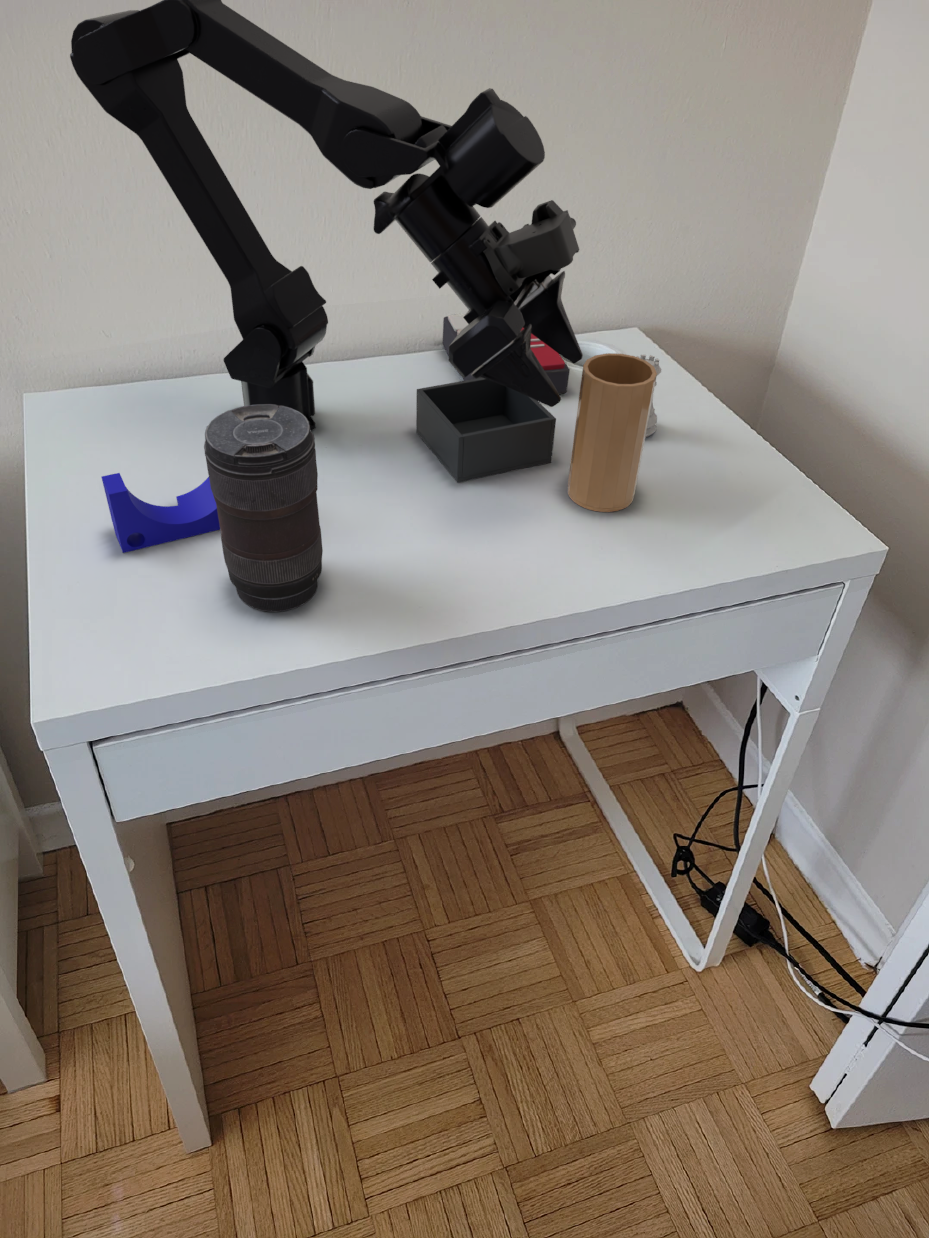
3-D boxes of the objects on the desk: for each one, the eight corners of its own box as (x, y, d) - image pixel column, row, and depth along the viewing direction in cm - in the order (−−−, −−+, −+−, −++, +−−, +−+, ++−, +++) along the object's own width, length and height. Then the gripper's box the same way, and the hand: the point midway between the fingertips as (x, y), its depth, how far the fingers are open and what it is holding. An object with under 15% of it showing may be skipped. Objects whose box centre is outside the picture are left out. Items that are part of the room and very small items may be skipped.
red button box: (476, 372, 103) (442, 310, 113) (474, 407, 106) (441, 343, 116) (572, 364, 105) (530, 303, 116) (567, 398, 108) (526, 336, 119)
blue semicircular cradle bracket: (242, 495, 89) (234, 439, 86) (257, 520, 86) (250, 463, 83) (111, 525, 85) (97, 467, 81) (123, 553, 82) (108, 494, 78)
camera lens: (221, 566, 81) (196, 408, 71) (315, 552, 83) (303, 396, 73) (233, 626, 75) (207, 462, 66) (334, 609, 77) (323, 448, 68)
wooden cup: (588, 517, 89) (607, 391, 81) (555, 483, 93) (570, 359, 85) (646, 504, 91) (670, 379, 83) (611, 470, 95) (631, 349, 87)
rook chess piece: (631, 415, 104) (642, 346, 99) (664, 430, 102) (677, 361, 97) (605, 428, 102) (616, 358, 97) (638, 444, 100) (651, 374, 94)
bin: (457, 483, 93) (458, 437, 89) (416, 432, 100) (416, 389, 97) (551, 462, 96) (556, 418, 93) (505, 415, 103) (508, 372, 100)
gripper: (493, 212, 69) (621, 377, 74) (552, 149, 83) (656, 291, 88) (393, 301, 76) (517, 447, 81) (463, 229, 90) (565, 357, 95)
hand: (568, 381), depth 86 cm, fingers open, 9 cm apart
